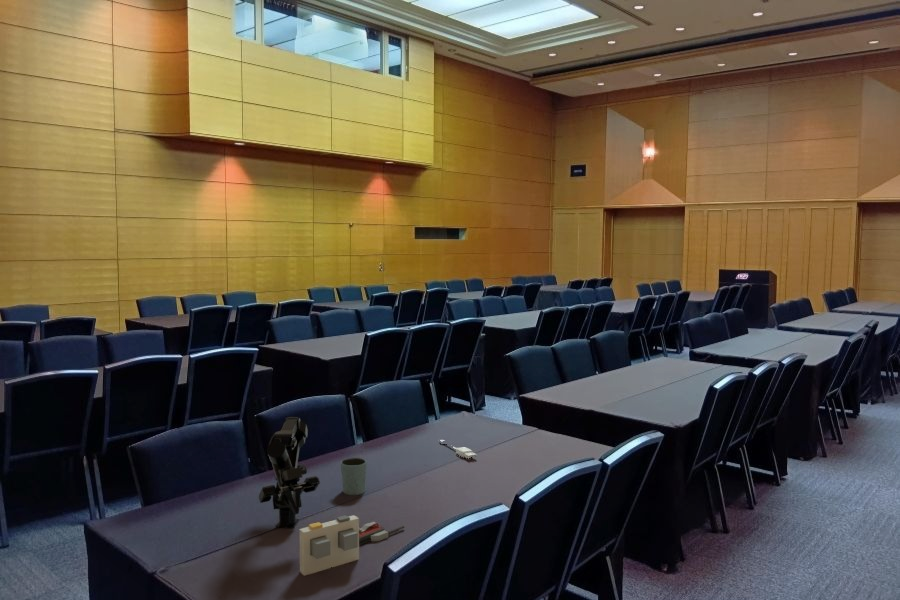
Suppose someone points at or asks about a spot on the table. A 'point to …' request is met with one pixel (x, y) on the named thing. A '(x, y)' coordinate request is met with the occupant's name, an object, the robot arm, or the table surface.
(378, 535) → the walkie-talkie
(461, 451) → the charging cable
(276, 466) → the robot arm
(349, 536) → the button dark
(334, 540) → the console
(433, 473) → the table surface
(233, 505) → the table surface
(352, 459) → the grey green cup
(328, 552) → the grey rectangular block
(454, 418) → the table surface
